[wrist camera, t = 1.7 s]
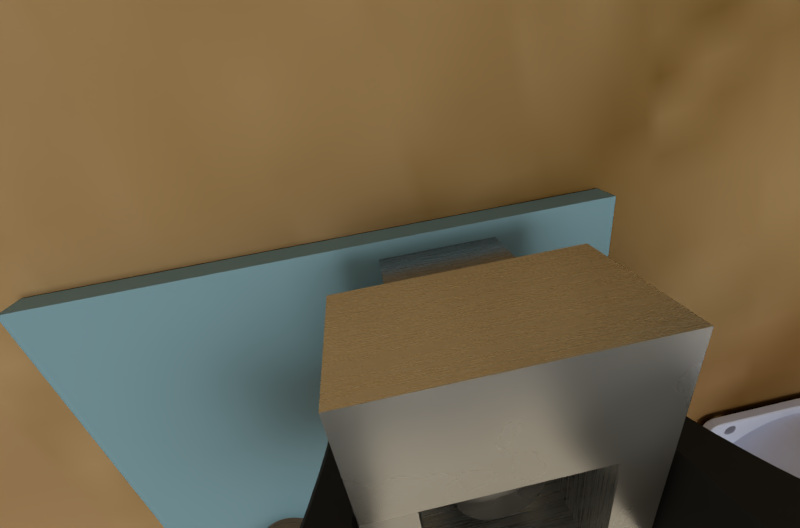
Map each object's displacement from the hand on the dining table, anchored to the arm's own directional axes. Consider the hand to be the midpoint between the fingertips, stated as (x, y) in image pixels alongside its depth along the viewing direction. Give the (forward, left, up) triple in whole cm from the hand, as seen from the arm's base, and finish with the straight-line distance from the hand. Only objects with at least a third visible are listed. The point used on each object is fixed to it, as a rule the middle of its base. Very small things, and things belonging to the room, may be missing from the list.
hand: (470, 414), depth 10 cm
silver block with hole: (0, 0, 0) cm, 0 cm away
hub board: (+3, +2, -3) cm, 5 cm away
